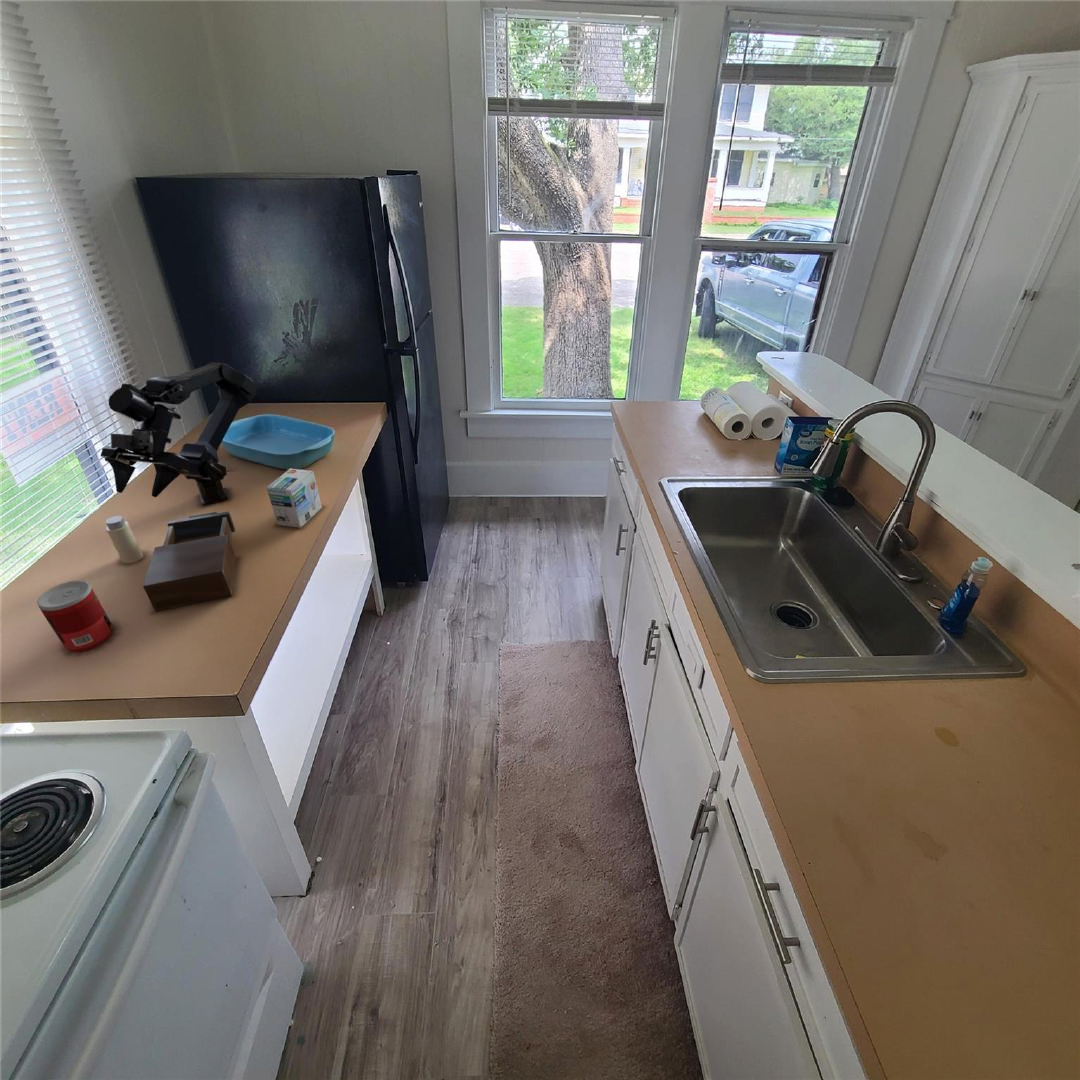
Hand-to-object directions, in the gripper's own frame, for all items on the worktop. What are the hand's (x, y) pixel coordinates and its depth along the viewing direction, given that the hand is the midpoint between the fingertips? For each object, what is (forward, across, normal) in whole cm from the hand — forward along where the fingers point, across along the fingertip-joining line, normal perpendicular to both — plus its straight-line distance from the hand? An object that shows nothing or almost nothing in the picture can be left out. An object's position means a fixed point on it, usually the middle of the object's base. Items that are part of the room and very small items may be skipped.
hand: (136, 494), depth 130 cm
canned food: (+31, +12, -13) cm, 36 cm away
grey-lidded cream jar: (+14, 0, +4) cm, 15 cm away
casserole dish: (-26, +2, +44) cm, 51 cm away
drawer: (+8, +13, +8) cm, 18 cm away
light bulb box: (-3, +28, +21) cm, 35 cm away
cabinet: (+18, +21, 0) cm, 28 cm away
